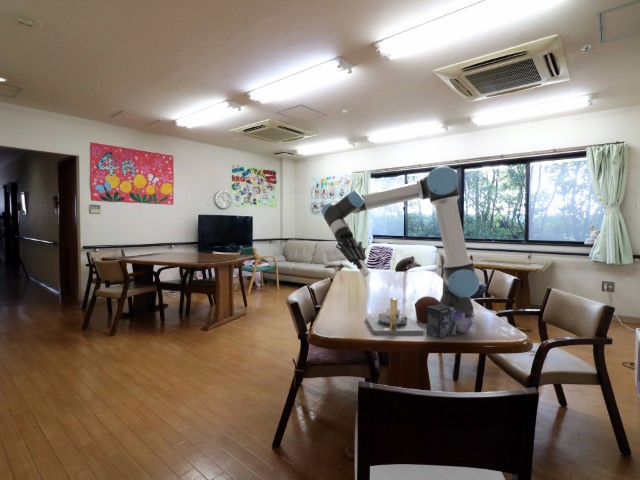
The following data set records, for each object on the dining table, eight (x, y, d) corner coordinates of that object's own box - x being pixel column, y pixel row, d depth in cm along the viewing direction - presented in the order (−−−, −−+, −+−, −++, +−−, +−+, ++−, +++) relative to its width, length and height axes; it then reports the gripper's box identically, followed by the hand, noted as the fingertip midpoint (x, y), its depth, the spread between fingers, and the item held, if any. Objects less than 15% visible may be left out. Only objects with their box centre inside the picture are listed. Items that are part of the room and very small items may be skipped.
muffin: (442, 327, 128) (443, 301, 128) (413, 324, 132) (414, 299, 131) (441, 318, 139) (442, 295, 139) (414, 316, 143) (415, 293, 142)
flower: (467, 321, 113) (464, 303, 122) (443, 327, 117) (441, 309, 126) (478, 340, 116) (474, 321, 124) (454, 346, 120) (452, 327, 128)
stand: (408, 320, 136) (408, 317, 136) (423, 334, 119) (423, 330, 119) (365, 320, 135) (365, 317, 135) (374, 334, 118) (374, 330, 118)
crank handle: (378, 316, 135) (379, 289, 134) (406, 318, 132) (406, 291, 132) (377, 328, 119) (378, 298, 118) (409, 330, 117) (409, 300, 116)
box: (439, 339, 114) (440, 309, 113) (426, 334, 119) (426, 306, 118) (453, 335, 118) (454, 306, 118) (440, 331, 123) (440, 303, 122)
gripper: (349, 237, 149) (374, 278, 136) (326, 238, 142) (349, 281, 129) (357, 225, 145) (383, 267, 132) (333, 226, 138) (358, 269, 125)
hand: (366, 274), depth 130 cm, fingers closed
